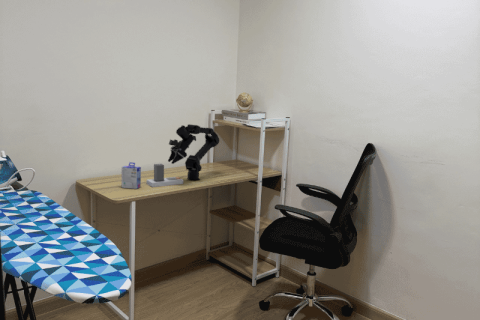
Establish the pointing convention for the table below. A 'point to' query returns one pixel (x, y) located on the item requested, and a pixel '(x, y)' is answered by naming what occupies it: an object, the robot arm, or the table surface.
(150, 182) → the power strip
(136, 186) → the ink cartridge box
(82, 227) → the table surface
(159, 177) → the block
